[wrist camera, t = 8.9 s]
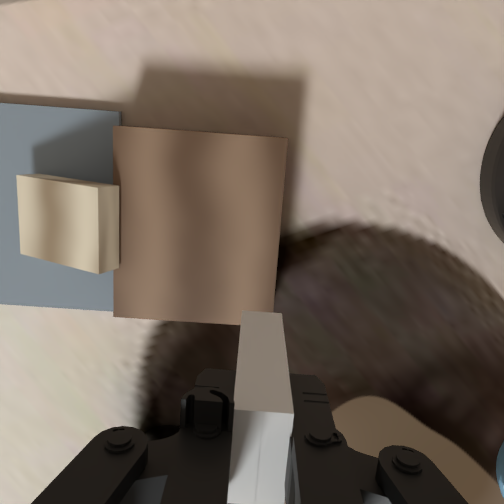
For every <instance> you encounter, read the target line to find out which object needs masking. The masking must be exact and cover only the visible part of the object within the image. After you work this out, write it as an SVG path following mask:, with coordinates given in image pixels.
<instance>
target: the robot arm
mask: <svg viewBox="0 0 504 504" xmlns="http://www.w3.org/2000/svg"><path fill="white" fill-rule="evenodd" d="M480 194H481V201H482V205H483V209H484V212H485V215H486V217H487V220H488V222H489V224H490V226H491V227H492V229H493V231H494V232H495V233H496V235H497V236H498V237H499V238H500V240H501V241H502V242H503V243H504V117H503V119H502V120H501V121H500V123H499V124H498V126H497V128H496V129H495V131H494V133H493V135H492V137H491V139H490V141H489V143H488V146H487V148H486V151H485V154H484V158H483V162H482V167H481V174H480ZM496 475H497V480H498V484H499V487H500V490H501V494H502V496H503V498H504V441H503V443H502V445H501V447H500V449H499V452H498V456H497V461H496ZM284 500H286V504H468V503H467V502H466V500H465V499H464V498H463V497H462V496H461V495H460V493H459V492H458V491H457V490H456V489H455V488H454V486H453V485H452V484H451V483H450V482H449V481H448V479H447V478H446V477H445V476H444V475H443V474H442V472H441V471H440V470H439V469H438V468H437V467H436V466H435V464H434V463H433V462H432V461H431V460H430V459H429V458H427V457H426V456H425V455H424V454H423V453H421V452H419V451H417V450H415V449H412V448H409V447H405V446H394V445H392V446H389V447H385V448H384V449H382V450H381V451H380V453H379V458H376V457H373V456H369V455H366V454H363V453H360V452H358V451H355V450H353V449H352V448H350V447H348V446H347V442H346V439H345V438H344V436H343V434H341V433H340V432H339V431H338V430H336V428H335V424H334V421H333V416H332V412H331V409H330V405H329V401H328V397H327V393H326V389H325V385H324V384H323V383H322V382H321V381H320V380H319V379H318V377H317V376H315V375H302V374H289V369H288V361H287V353H286V345H285V337H284V329H283V321H282V313H269V312H256V311H243V310H242V317H241V328H240V338H239V349H238V359H237V369H236V371H234V370H221V369H208V368H206V369H205V370H203V371H202V372H201V373H200V374H199V375H198V376H197V379H196V383H195V387H194V389H192V390H190V391H188V392H187V393H185V394H184V396H183V397H182V399H181V415H180V430H179V432H178V433H176V434H175V435H173V436H170V437H168V438H164V439H160V440H154V441H148V440H147V436H146V435H145V434H144V433H143V432H142V431H141V430H139V429H136V428H134V427H126V426H121V427H113V428H110V429H107V430H105V431H102V432H101V433H99V434H98V435H97V436H95V437H94V438H93V439H92V440H91V441H90V442H89V443H88V444H87V445H86V447H85V448H84V449H83V450H82V451H81V452H80V453H79V454H78V455H77V456H76V457H75V458H74V459H73V460H72V461H71V462H70V463H69V464H68V465H67V466H66V467H65V469H64V470H63V471H62V472H61V473H60V474H59V475H58V476H57V477H56V478H55V479H54V480H53V481H52V482H51V483H50V484H49V485H48V486H47V487H46V488H45V489H44V491H43V492H42V493H41V494H40V495H39V496H38V497H37V498H36V499H35V500H34V501H33V502H32V503H31V504H227V503H234V504H284Z"/></svg>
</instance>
